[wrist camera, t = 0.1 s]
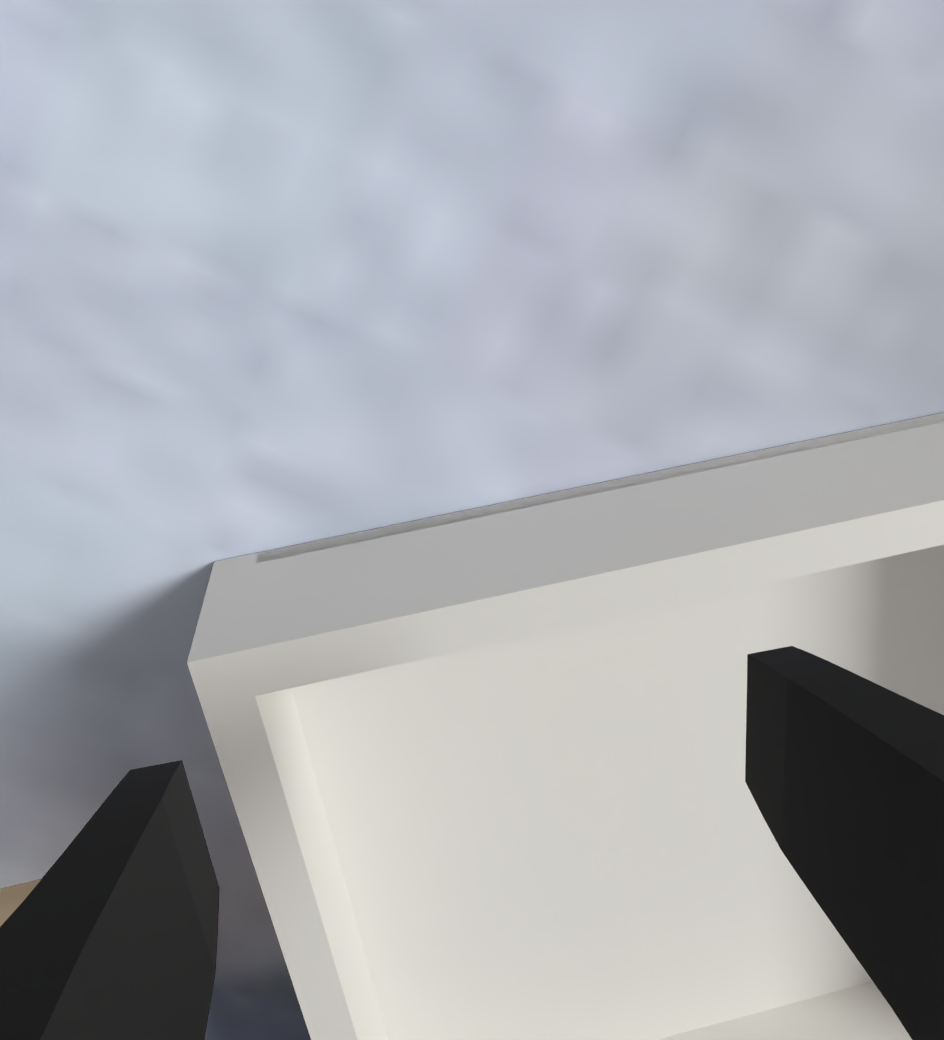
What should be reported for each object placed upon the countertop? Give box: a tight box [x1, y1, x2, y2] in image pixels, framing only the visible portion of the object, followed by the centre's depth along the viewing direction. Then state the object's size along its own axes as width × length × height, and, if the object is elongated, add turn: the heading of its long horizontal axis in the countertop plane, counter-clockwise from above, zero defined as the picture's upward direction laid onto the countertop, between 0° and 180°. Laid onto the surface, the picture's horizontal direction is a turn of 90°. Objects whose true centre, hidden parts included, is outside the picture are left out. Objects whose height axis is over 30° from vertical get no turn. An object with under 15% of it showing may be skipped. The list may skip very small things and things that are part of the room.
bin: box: [187, 413, 944, 1040], centre depth 23 cm, size 20×20×4 cm
